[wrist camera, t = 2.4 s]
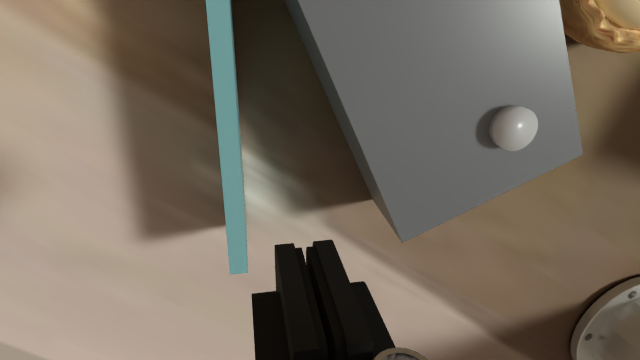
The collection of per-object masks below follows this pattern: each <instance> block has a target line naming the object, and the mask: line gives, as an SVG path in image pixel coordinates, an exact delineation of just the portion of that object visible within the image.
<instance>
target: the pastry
mask: <svg viewBox="0 0 640 360" xmlns="http://www.w3.org/2000/svg"><path fill="white" fill-rule="evenodd" d="M559 3H560V9H561V16H562V22H563V28H564V33H565V34H566V35H567V36H569V37H571V38H572V39H574V40H575V41H577V42H579V43H581V44H583V45H586V46H589V47H592V48H596V49H602V50H607V51H612V52H618V53H629V52H639V51H640V0H559Z"/></svg>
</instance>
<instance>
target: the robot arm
mask: <svg viewBox="0 0 640 360" xmlns="http://www.w3.org/2000/svg"><path fill="white" fill-rule="evenodd" d="M275 272H276V291H273V292H264V293H255V294H252V309H253V326H254V343H255V360H427V359H426V358H425V357H424V356H422V355H421V354H419V353H417V352H415V351H412V350H410V349H406V348H396V347H395V345H394V343H393V341H392V339H391V337H390V335H389V332H388V330H387V328H386V326H385V324H384V322H383V319H382V317H381V315H380V313H379V311H378V309H377V307H376V304H375V302H374V300H373V298H372V296H371V294H370V291H369V289H368V287H367V285H366V284H365V282H363V281H362V282H353V283H350V282H349V279H348V277H347V274H346V272H345V269H344V267H343V264H342V262H341V260H340V257H339V255H338V252H337V250H336V247H335V245H334V243H333V241H332V240H324V241H314V242H313V247H307V248H306V262H305V259H304V255H303V251H302V248H295V246H294V243H291V244H280V245H275ZM570 348H571V356H572V359H573V360H640V277H636V278H633V279H630V280H628V281H625V282H623V283H621V284H619V285H617V286H615V287H614V288H612V289H611V290H609V291H607V292H606V293H605V294H604V295H602V296H601V297H600V298H598V299H597V300H596V301H595V302H594V303H593V304H592V305H591V306H590V307H589V308H588V310H587V311H586V312H585V313H584V315H583V316H582V317H581V319H580V321H579V322H578V324H577V326H576V327H575V330H574V333H573V336H572V340H571V346H570Z"/></svg>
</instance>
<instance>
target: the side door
mask: <svg viewBox="0 0 640 360" xmlns="http://www.w3.org/2000/svg"><path fill="white" fill-rule="evenodd" d="M206 10H207V21H208V32H209V43H210V55H211V66H212V77H213V88H214V99H215V110H216V121H217V132H218V144H219V155H220V166H221V177H222V188H223V199H224V210H225V222H226V233H227V244H228V255H229V266H230V274H240V273H248V256H247V226H246V210H245V195H244V180H243V165H242V150H241V135H240V121H239V106H238V91H237V76H236V61H235V46H234V31H233V16H232V1H231V0H206Z"/></svg>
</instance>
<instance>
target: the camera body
mask: <svg viewBox="0 0 640 360" xmlns="http://www.w3.org/2000/svg"><path fill="white" fill-rule="evenodd" d="M284 1H285V3H286V6H287V8H288V10H289V12H290V15H291V17H292V19H293V21H294V24H295V26H296V28H297V30H298V33H299V35H300V37H301V39H302V42H303V44H304V46H305V48H306V51H307V53H308V55H309V57H310V60H311V62H312V64H313V66H314V69H315V71H316V73H317V75H318V78H319V80H320V82H321V84H322V87H323V89H324V91H325V93H326V96H327V98H328V100H329V102H330V105H331V107H332V109H333V111H334V114H335V116H336V118H337V120H338V123H339V125H340V127H341V129H342V132H343V134H344V136H345V138H346V141H347V143H348V145H349V147H350V150H351V152H352V154H353V156H354V159H355V161H356V163H357V165H358V168H359V170H360V172H361V174H362V177H363V179H364V181H365V183H366V186H367V188H368V190H369V192H370V195H371V197H372V199H373V201H374V202H375V204H376V205H377V207H378V208H379V210H380V211H381V212H382V214H383V215H384V217H385V218H386V220H387V221H388V223H389V224H390V226H391V227H392V229H393V230H394V231H395V233H396V234H397V236H398V237H399V239H400V240H401V242H402V243H403V242H405V241H407V240H409V239H411V238H413V237H415V236H417V235H419V234H421V233H423V232H426V231H428V230H430V229H432V228H434V227H436V226H438V225H440V224H442V223H444V222H446V221H448V220H450V219H452V218H454V217H456V216H458V215H460V214H462V213H464V212H466V211H468V210H470V209H472V208H475V207H477V206H479V205H481V204H483V203H485V202H487V201H489V200H491V199H493V198H495V197H497V196H499V195H501V194H503V193H505V192H507V191H509V190H511V189H513V188H515V187H517V186H519V185H521V184H524V183H526V182H528V181H530V180H532V179H534V178H536V177H538V176H540V175H542V174H544V173H546V172H548V171H550V170H552V169H554V168H556V167H558V166H560V165H562V164H564V163H566V162H568V161H570V160H573V159H575V158H577V157H579V156H581V155H583V150H582V143H581V137H580V131H579V124H578V118H577V111H576V105H575V99H574V92H573V86H572V79H571V73H570V67H569V60H568V54H567V47H566V41H565V35H564V28H563V22H562V16H561V9H560V3H559V0H284Z"/></svg>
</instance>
